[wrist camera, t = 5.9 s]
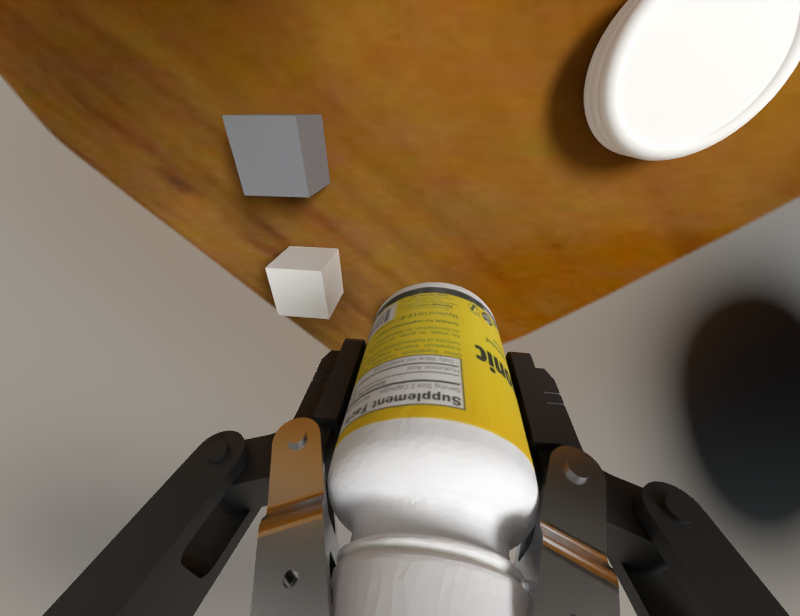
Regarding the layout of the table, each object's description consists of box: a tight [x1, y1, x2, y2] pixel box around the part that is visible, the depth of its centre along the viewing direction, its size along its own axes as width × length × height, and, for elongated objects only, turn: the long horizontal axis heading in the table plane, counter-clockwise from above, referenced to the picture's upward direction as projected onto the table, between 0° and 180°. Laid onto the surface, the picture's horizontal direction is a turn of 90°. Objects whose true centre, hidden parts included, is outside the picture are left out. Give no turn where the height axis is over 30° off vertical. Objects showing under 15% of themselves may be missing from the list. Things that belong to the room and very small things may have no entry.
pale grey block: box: [265, 246, 343, 319], centre depth 29 cm, size 5×5×5 cm
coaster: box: [583, 0, 800, 161], centre depth 18 cm, size 10×10×4 cm
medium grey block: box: [222, 114, 330, 197], centre depth 22 cm, size 5×5×5 cm
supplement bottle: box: [327, 282, 540, 616], centre depth 9 cm, size 5×5×10 cm
